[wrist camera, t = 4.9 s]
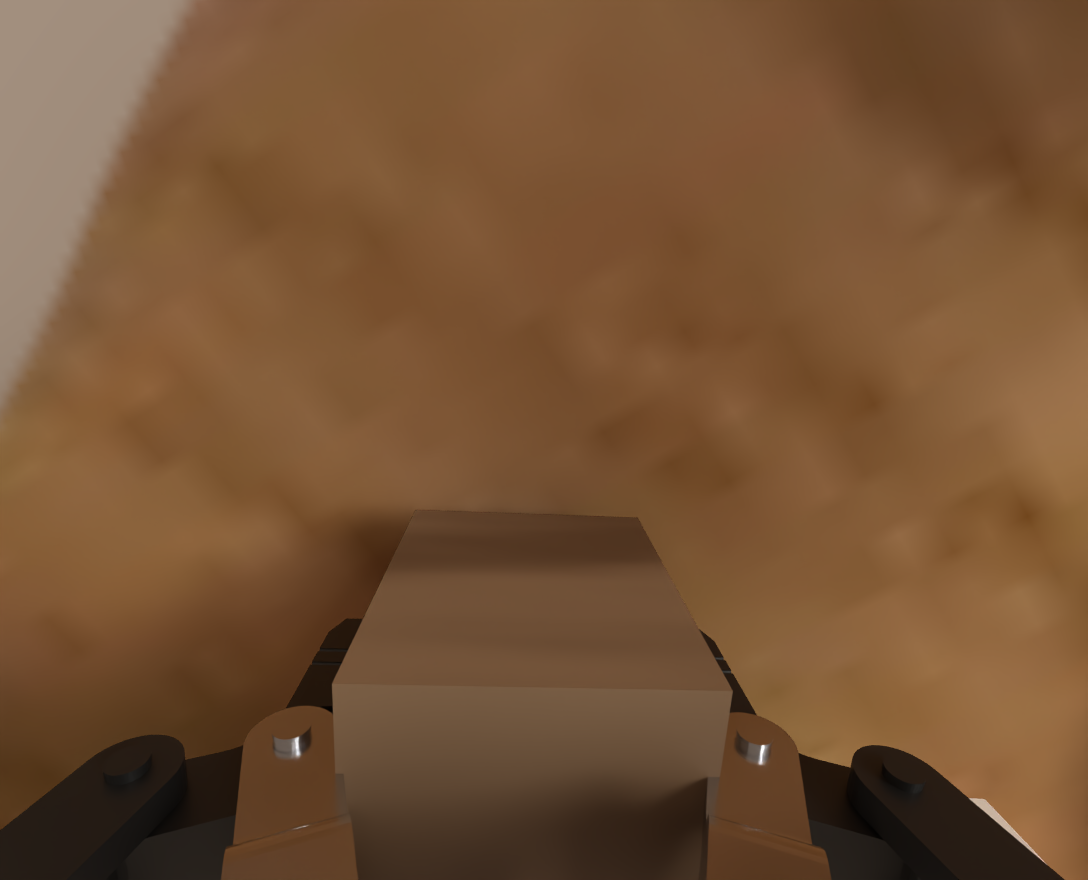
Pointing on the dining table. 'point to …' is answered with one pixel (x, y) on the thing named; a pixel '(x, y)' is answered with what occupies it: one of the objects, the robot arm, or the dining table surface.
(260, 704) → the dining table surface
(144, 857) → the robot arm
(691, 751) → the walnut block
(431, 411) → the dining table surface
